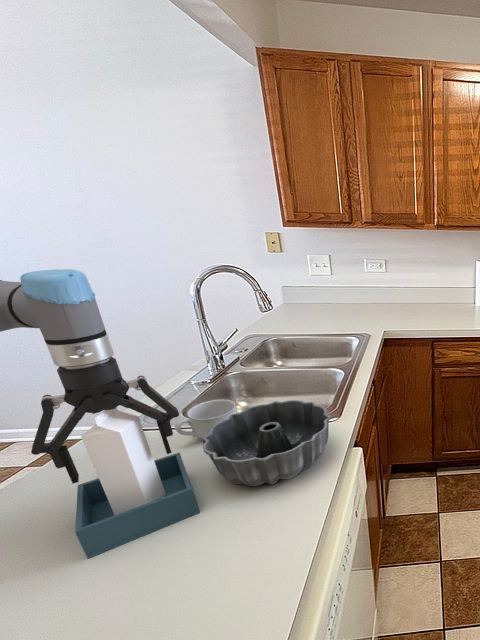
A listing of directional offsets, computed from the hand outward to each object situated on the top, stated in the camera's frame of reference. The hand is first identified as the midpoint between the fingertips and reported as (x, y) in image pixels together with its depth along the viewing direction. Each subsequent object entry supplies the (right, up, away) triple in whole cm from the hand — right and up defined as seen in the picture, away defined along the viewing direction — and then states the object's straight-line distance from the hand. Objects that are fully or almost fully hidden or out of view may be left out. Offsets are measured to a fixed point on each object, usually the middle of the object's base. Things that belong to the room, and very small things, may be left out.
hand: (124, 464), depth 76 cm
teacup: (-4, -1, +30) cm, 30 cm away
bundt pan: (+19, -5, +20) cm, 28 cm away
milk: (0, -10, +4) cm, 10 cm away
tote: (0, -11, +4) cm, 11 cm away
